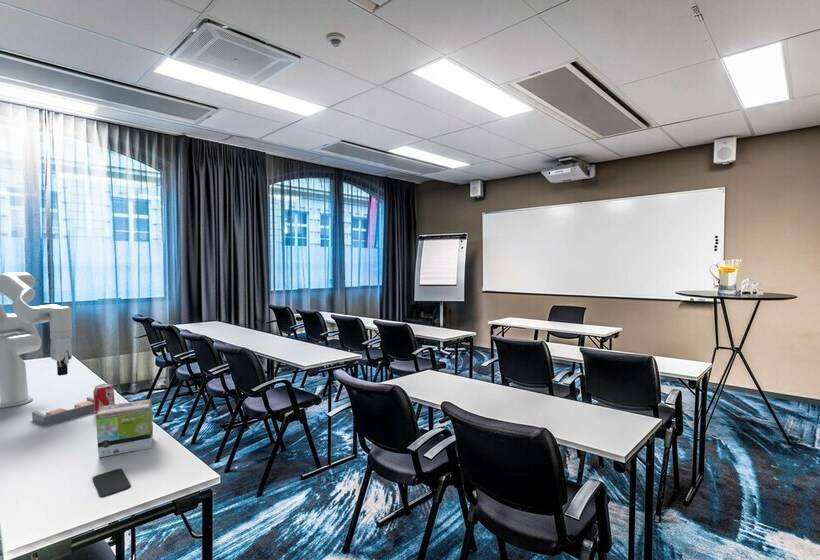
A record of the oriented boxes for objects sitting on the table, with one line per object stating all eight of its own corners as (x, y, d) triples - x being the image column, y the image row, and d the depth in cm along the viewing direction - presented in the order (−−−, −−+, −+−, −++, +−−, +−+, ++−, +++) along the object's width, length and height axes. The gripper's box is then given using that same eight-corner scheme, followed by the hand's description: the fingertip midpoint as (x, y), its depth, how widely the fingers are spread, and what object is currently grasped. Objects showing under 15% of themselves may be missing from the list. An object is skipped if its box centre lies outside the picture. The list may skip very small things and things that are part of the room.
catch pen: (32, 420, 175) (31, 411, 174) (90, 404, 192) (89, 396, 192) (45, 425, 168) (44, 417, 168) (103, 409, 185) (102, 401, 185)
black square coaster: (99, 497, 115) (91, 476, 126) (100, 500, 115) (91, 479, 126) (131, 486, 120) (121, 467, 131) (132, 488, 120) (121, 470, 131)
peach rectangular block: (74, 411, 184) (74, 404, 184) (86, 407, 189) (86, 401, 188) (83, 412, 182) (82, 405, 182) (94, 408, 187) (94, 401, 187)
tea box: (98, 459, 138) (94, 415, 137) (103, 447, 147) (100, 405, 146) (151, 448, 145) (148, 406, 144) (154, 437, 154) (151, 397, 153)
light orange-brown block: (46, 419, 175) (45, 412, 175) (60, 415, 180) (59, 408, 180) (53, 421, 173) (52, 414, 173) (67, 416, 178) (66, 409, 178)
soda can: (104, 417, 176) (102, 388, 175) (90, 416, 177) (88, 388, 176) (119, 410, 183) (117, 383, 182) (105, 410, 184) (103, 382, 183)
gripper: (43, 333, 189) (45, 373, 190) (57, 337, 181) (59, 379, 182) (64, 330, 195) (65, 369, 197) (78, 335, 187) (80, 375, 189)
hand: (62, 374), depth 189 cm, fingers closed
